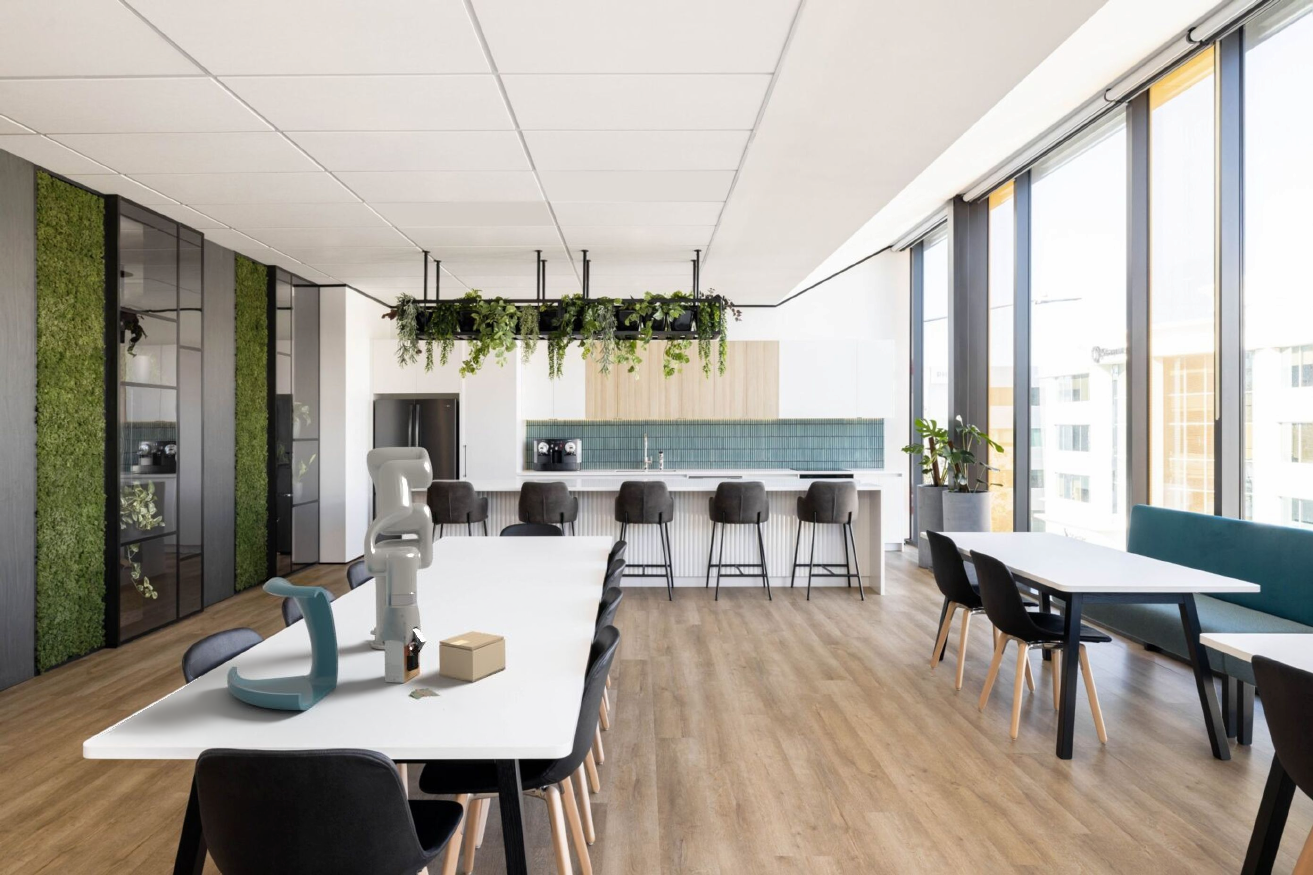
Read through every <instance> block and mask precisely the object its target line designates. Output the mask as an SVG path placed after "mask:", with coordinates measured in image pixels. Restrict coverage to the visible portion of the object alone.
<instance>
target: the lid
mask: <svg viewBox="0 0 1313 875" xmlns="http://www.w3.org/2000/svg"><path fill="white" fill-rule="evenodd" d="M503 639H505V636H501V635H496V634H490V633H486V632H485V633H484V632H479V631H468V632H465V633H462V634H458V635H456V636H453V637H449V638H447V639H446V638H445V639H443V640H440V641H439V645H440V644H442V645H447V646H453V647H458V648H464V649H469V650H473V649H476V648H479V647H482V646H485V645H488V644H491V643H494V642H497V641H500V640H503Z"/></svg>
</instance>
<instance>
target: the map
mask: <svg viewBox="0 0 1313 875" xmlns="http://www.w3.org/2000/svg"><path fill="white" fill-rule="evenodd" d="M410 696H413V697H414V698H415V699H417V700H421V698H424V697H425V698H428V697H441V694H438V693H436V692H434V691H433V690H431V689H430V688H419V689H418V688H415V690H413V691H411V692H410Z"/></svg>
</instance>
